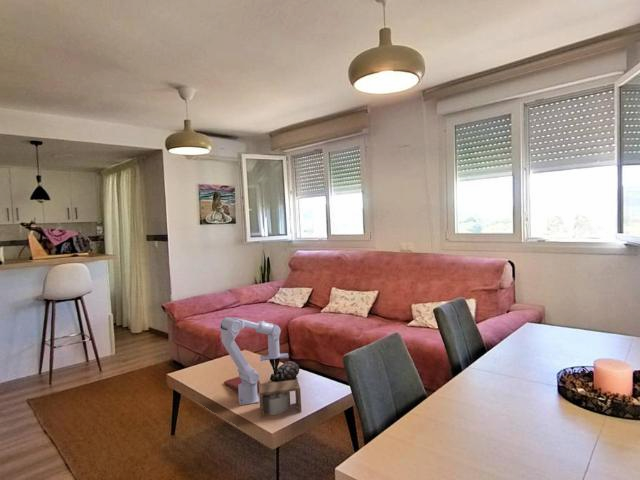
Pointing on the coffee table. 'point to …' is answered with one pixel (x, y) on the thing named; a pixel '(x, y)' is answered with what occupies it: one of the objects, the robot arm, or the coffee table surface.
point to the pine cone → (286, 372)
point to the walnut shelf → (278, 388)
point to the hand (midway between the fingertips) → (275, 372)
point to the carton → (236, 381)
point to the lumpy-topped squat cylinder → (276, 402)
